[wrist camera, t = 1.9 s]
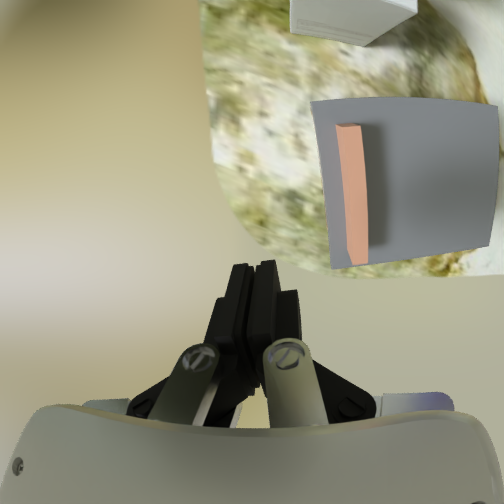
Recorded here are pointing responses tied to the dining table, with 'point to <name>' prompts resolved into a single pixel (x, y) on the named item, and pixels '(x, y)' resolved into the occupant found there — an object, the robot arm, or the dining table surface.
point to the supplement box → (349, 18)
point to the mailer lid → (406, 176)
